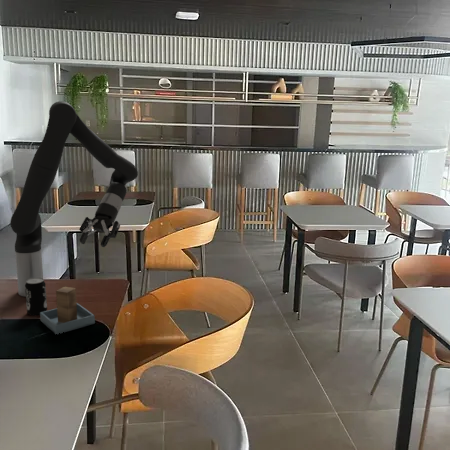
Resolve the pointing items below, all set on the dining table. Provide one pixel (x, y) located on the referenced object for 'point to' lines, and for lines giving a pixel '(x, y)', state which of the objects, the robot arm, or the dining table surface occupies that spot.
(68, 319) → the wooden block
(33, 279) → the beverage can
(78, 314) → the box
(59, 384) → the dining table surface
